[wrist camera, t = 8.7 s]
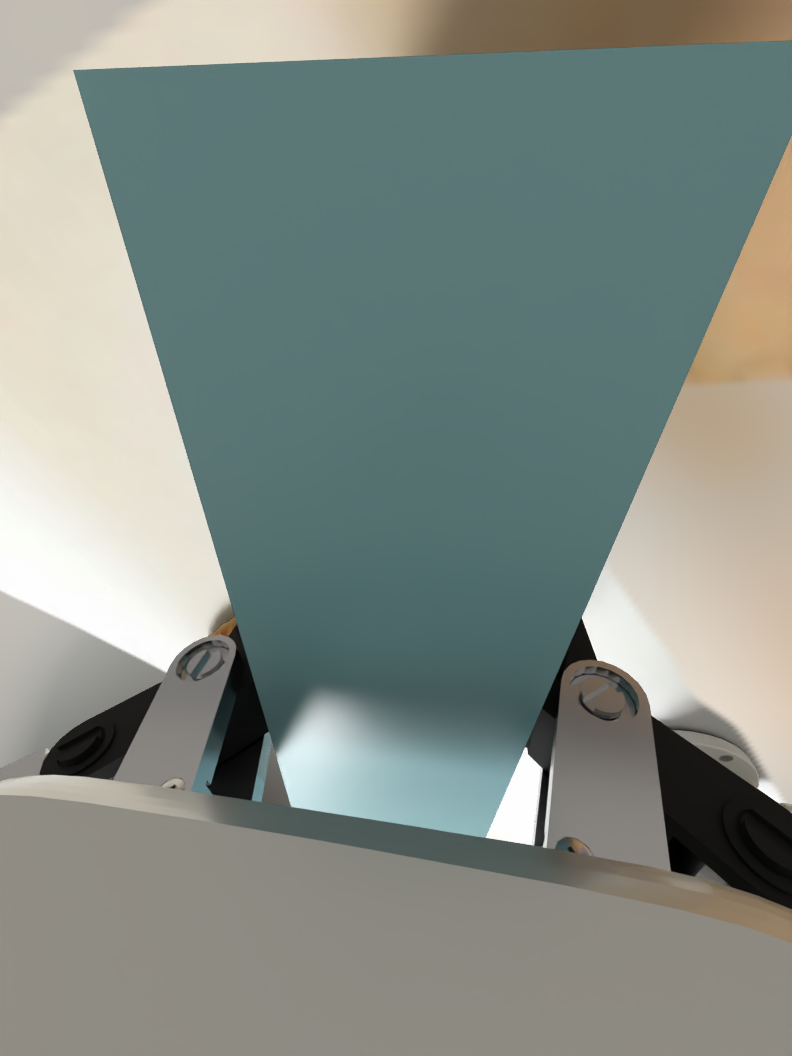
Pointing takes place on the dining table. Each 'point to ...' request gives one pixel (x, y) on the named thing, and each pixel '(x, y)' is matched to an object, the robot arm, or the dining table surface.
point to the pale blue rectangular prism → (428, 364)
